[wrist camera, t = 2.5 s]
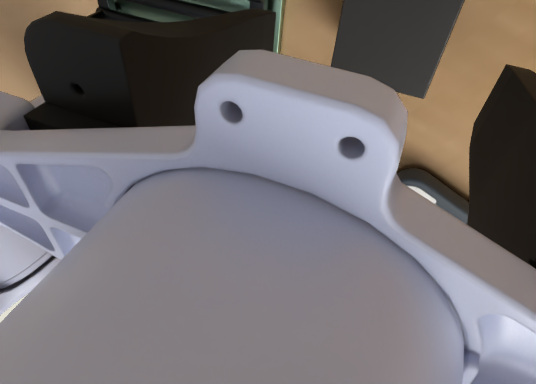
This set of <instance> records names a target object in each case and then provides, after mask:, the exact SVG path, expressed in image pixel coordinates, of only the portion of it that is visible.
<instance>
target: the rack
mask: <svg viewBox="0 0 536 384" xmlns="http://www.w3.org/2000/svg"><path fill="white" fill-rule="evenodd" d="M98 5H99V7H98V8H97V9H96V12H95V13H93V14H91V15H89V16H87V17H91V18H97V19H104V20H113V21H124V22H177V21H186V20H194V19H199V18H205V17H210V16H216V15H221V14H225V13H230V12H235V11H240V10H245V9H253V8H257V9H263V10H268V11H272V12H276V21H275V33H274V46H273V52H274V53H278V54H280V49H281V38H282V27H283V17H284V6H285V0H98Z"/></svg>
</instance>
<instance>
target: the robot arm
mask: <svg viewBox="0 0 536 384" xmlns="http://www.w3.org/2000/svg"><path fill="white" fill-rule="evenodd" d="M275 21H276V12H272V11H268V10H263V9H257V8H253V9H245V10H240V11H235V12H230V13H225V14H221V15H216V16H210V17H205V18H199V19H194V20H186V21H177V22H124V21H113V20H104V19H97V18H91V17H85V16H79V15H74V14H68V13H64V12H58V11H55V12H53V13H51V14H49V15H46V16H44V17H42V18H40V19H37V20H35V21H33V22H31V24H30V25H29V26H28V27H27V28H26V32H25V36H24V44H25V52H26V55H27V59H28V62H29V64H30V67H31V69H32V72H33V74H34V77H35V79H36V81H37V84H38V86H39V89H40V91H41V95H40V96H38V97H37V98H35V99H33V100H32V101H30V102H29V101H27V100H25V99H23V98H20V97H17V96H14V95H11V94H8V93H5V92H2V91H0V315H1V314H2V313H3V312H5V311H6V310H7V309H8V308H10V307H11V306H12V305H13V304H14V303H16V302H17V301H18V300H20V299H21V298H22V297H24V296H25V295H27V294H28V295H27V296H26V297H25V298H24V299H23V300H22V301H21V302H20V303H19V304H18V305H17V306H16V307H15V308H14V309H13V310H12V311H11V312H10V313H9V314H8V316H7V317H5V319H4V320H3V321H2V322H1V323H0V384H536V73H535V72H533V71H531V70H529V69H525V68H520V67H516V66H511V65H507V64H506V66H505V68H504V69H503V71H502V73H501V75H500V77H499V79H498V80H497V82H496V84H495V86H494V88H493V89H492V91H491V93H490V95H489V97H488V99H487V100H486V102H485V104H484V106H483V108H482V110H481V111H480V113H479V115H478V117H477V119H476V121H475V122H474V126H473V131H472V136H471V142H470V152H469V213H468V220H467V224H465V223H464V222H462V221H461V220H459V219H457V218H456V217H454V216H453V215H451V214H450V213H448V212H447V211H445V210H443V209H442V208H440V207H439V206H437V205H436V204H434V203H433V202H431V201H429V200H428V199H426V198H425V197H423V196H422V195H420V194H419V193H417V192H415V191H414V190H412V189H411V188H409V187H408V186H406V185H405V184H403V183H402V182H401V181H400V179H399V177H398V175H397V174H396V171H397V169H398V166H399V162H400V158H401V154H402V150H403V146H404V142H405V138H406V132H407V116H408V111H407V109H406V108H405V106H404V105H403V103H402V101H401V100H400V98H399V96H398V95H397V93H396V91H395V90H394V89H392V88H390V87H389V86H387V85H385V84H383V83H381V82H379V81H377V80H376V79H374V78H372V77H370V76H366V75H362V74H358V73H354V72H350V71H346V70H342V69H338V68H334V67H330V66H326V65H322V64H318V63H314V62H310V61H306V60H302V59H298V58H294V57H290V56H286V55H282V54H278V53H274V52H273V46H274V33H275Z"/></svg>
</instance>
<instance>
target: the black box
mask: <svg viewBox="0 0 536 384" xmlns="http://www.w3.org/2000/svg"><path fill="white" fill-rule="evenodd" d="M464 1H465V0H344V1H343V7H342V12H341V17H340V22H339V27H338V32H337V37H336V42H335V47H334V52H333V57H332V62H331V67H334V68H338V69H342V70H346V71H350V72H354V73H358V74H362V75H366V76H370V77H372V78H374V79H376V80H377V81H379V82H381V83H383V84H385V85H387V86H389V87H390V88H392V89H394V90H395V91H396V92H399V93H403V94H406V95H410V96H414V97H418V98H422V99H424V98H425V95H426V93H427V91H428V88H429V86H430V83H431V81H432V78H433V76H434V74H435V71H436V69H437V66H438V64H439V61H440V59H441V57H442V54H443V52H444V49H445V47H446V44H447V42H448V40H449V37H450V35H451V32H452V30H453V27H454V25H455V23H456V20H457V18H458V15H459V13H460V10H461V8H462V6H463V3H464Z"/></svg>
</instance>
